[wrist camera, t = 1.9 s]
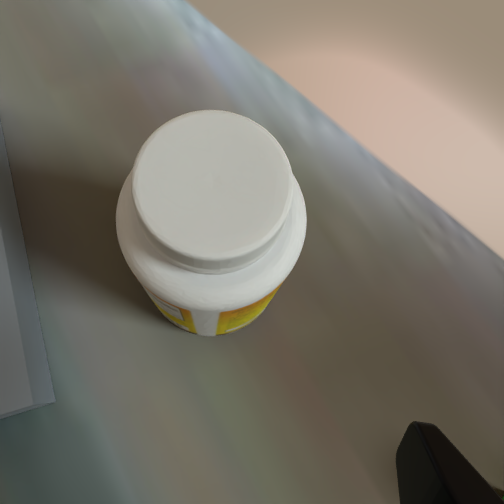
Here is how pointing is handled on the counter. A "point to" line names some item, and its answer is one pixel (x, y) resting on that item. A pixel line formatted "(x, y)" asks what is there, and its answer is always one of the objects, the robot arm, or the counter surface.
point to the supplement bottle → (211, 220)
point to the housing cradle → (18, 312)
